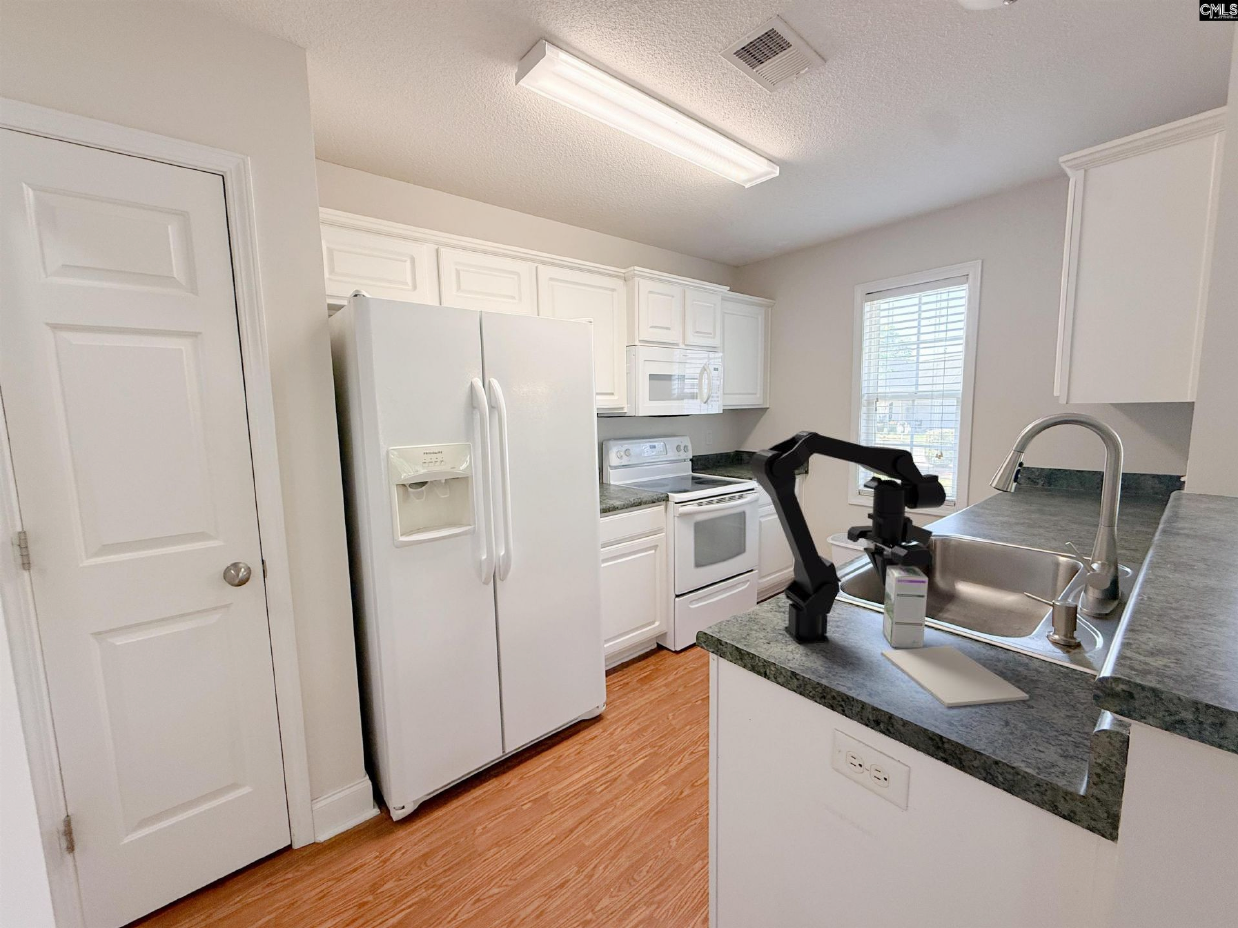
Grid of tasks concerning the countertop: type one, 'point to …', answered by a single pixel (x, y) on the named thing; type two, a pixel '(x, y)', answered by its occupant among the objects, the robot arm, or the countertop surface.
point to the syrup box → (905, 606)
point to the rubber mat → (953, 676)
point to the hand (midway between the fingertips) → (884, 585)
